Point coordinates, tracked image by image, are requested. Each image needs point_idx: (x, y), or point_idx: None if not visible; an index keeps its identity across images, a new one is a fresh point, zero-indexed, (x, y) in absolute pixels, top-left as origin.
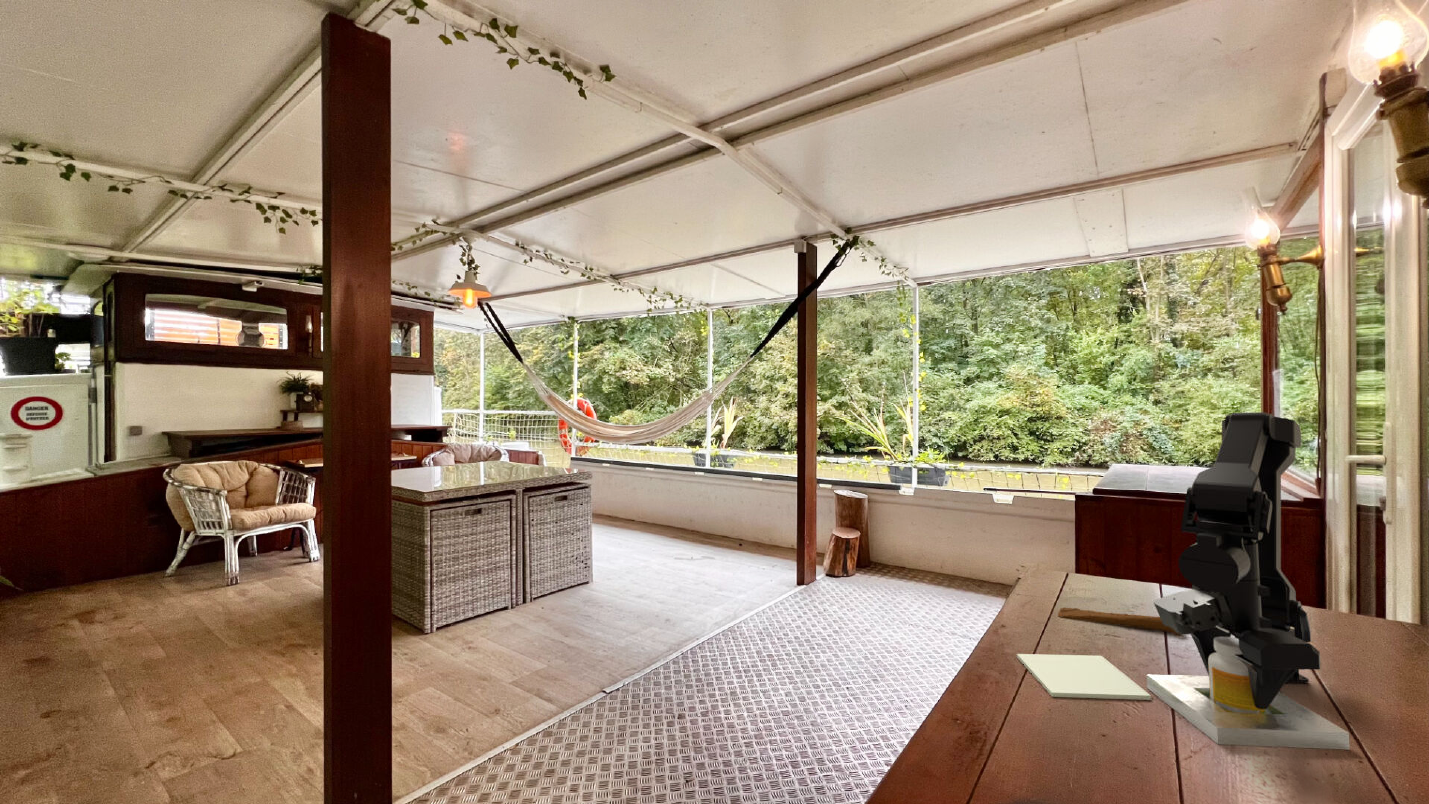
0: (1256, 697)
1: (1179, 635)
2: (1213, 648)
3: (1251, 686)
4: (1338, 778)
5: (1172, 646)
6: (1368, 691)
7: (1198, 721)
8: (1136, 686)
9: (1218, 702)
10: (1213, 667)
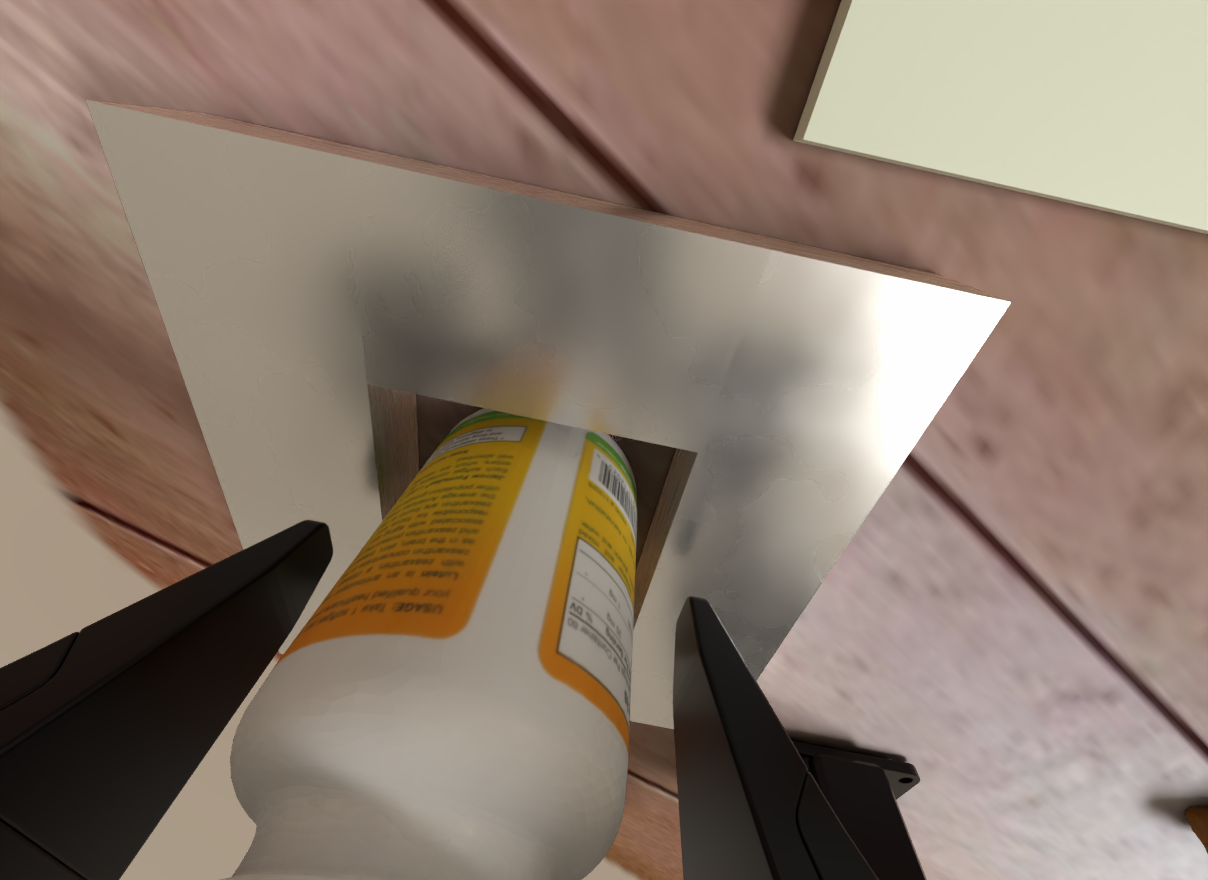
0: (227, 562)
1: (1187, 809)
2: (718, 869)
3: (180, 617)
4: (84, 423)
5: (1155, 738)
6: (643, 832)
7: (352, 150)
8: (977, 146)
9: (499, 437)
10: (435, 636)
